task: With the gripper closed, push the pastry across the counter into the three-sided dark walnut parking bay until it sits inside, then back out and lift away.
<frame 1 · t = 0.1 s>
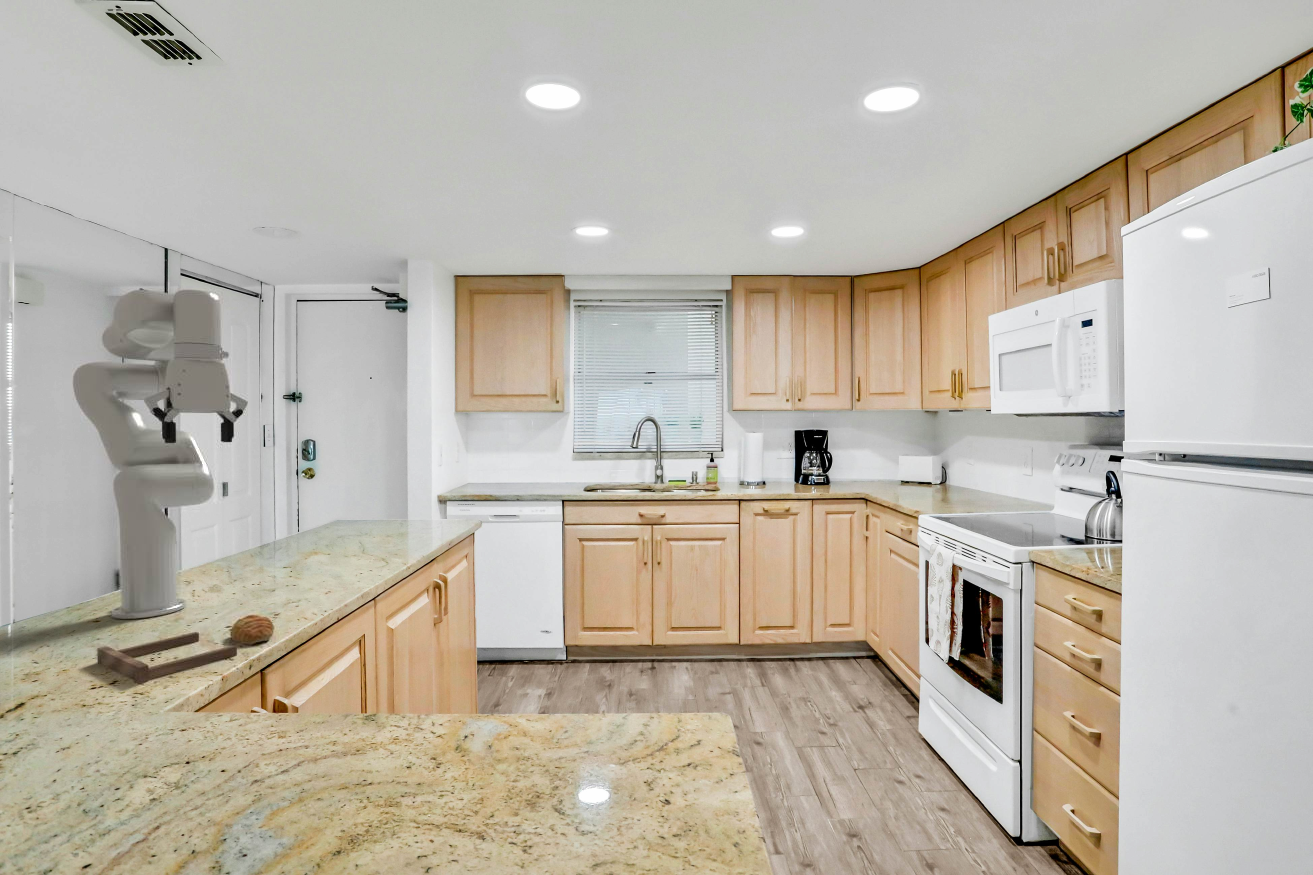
hand: (199, 442, 125), 37 cm above the table, tool pointing down, fingers open, 9 cm apart
pastry: (254, 639, 121), on the table
bay: (173, 658, 110), on the table
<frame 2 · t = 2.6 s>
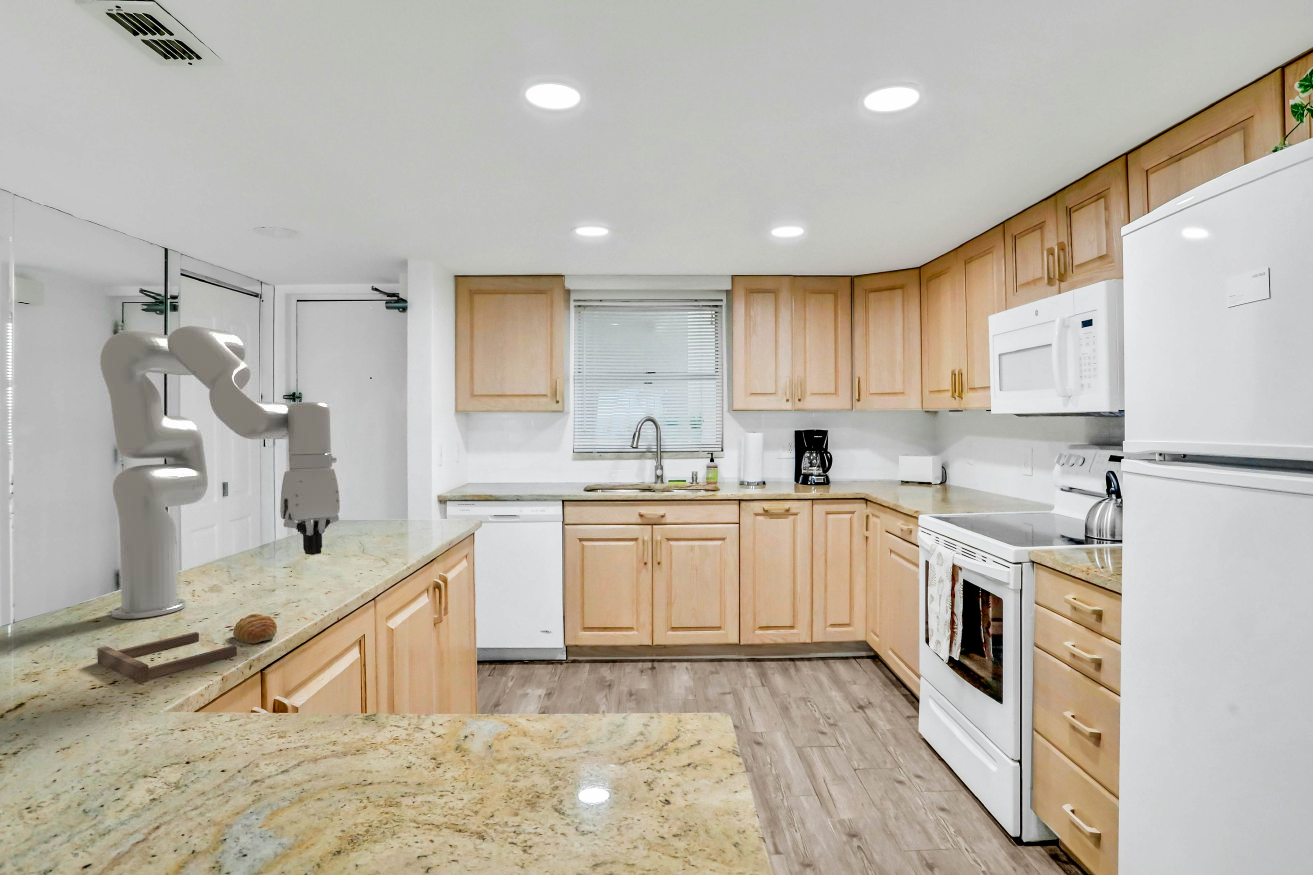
hand: (313, 553, 130), 14 cm above the table, tool pointing down, fingers closed
nothing on the table moved.
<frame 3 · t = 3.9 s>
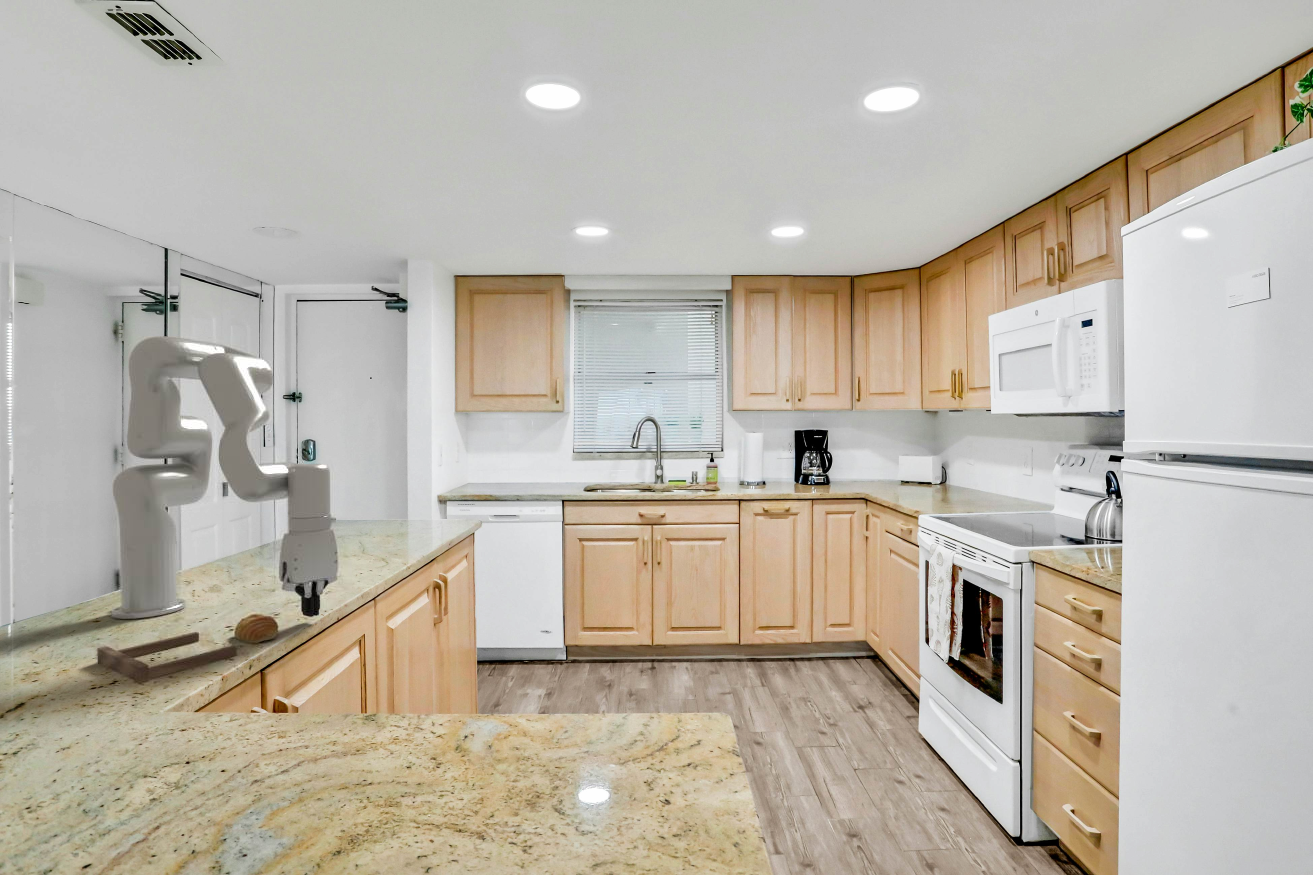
hand: (310, 614, 130), 2 cm above the table, tool pointing down, fingers closed
nothing on the table moved.
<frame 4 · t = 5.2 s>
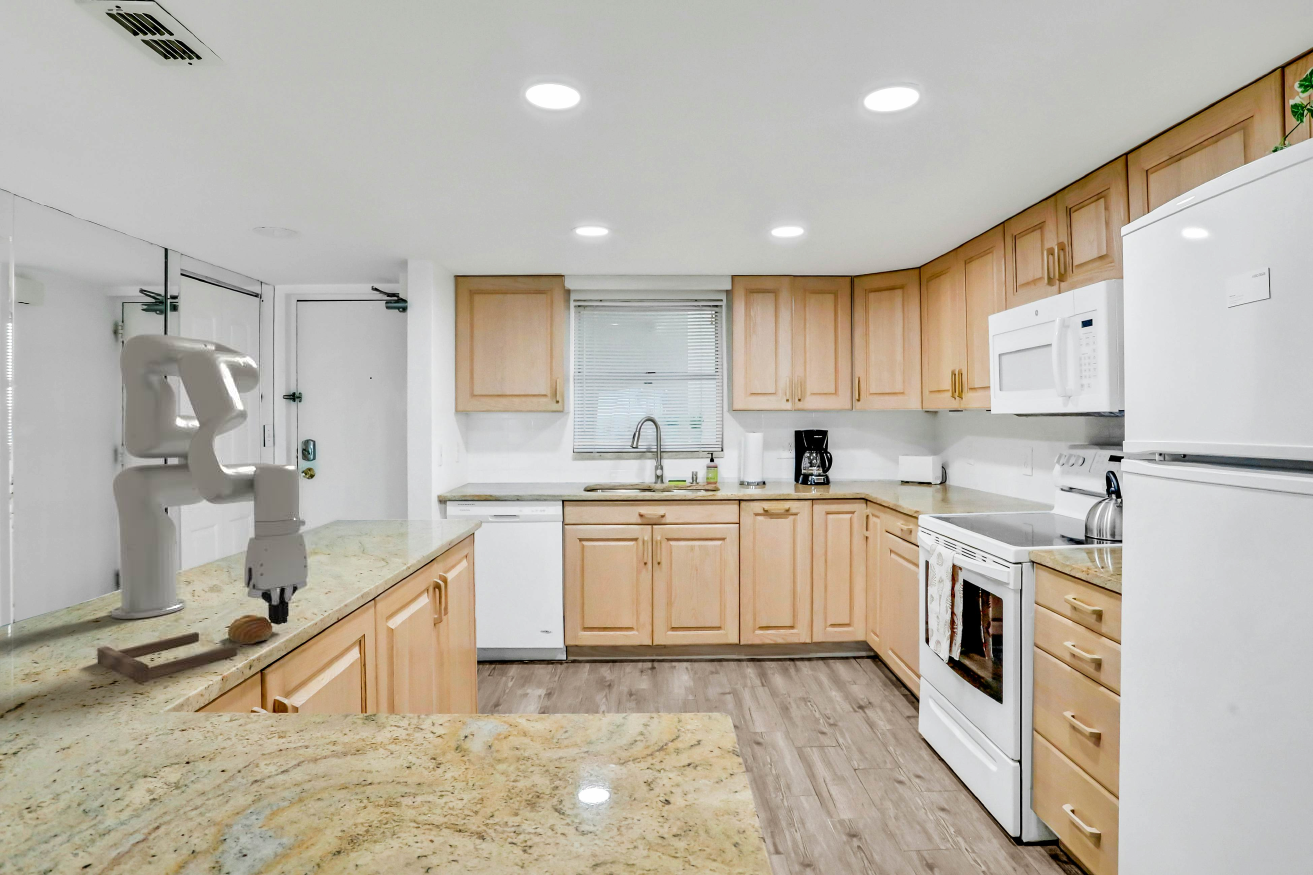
hand: (278, 622, 124), 2 cm above the table, tool pointing down, fingers closed
pastry: (252, 639, 121), on the table
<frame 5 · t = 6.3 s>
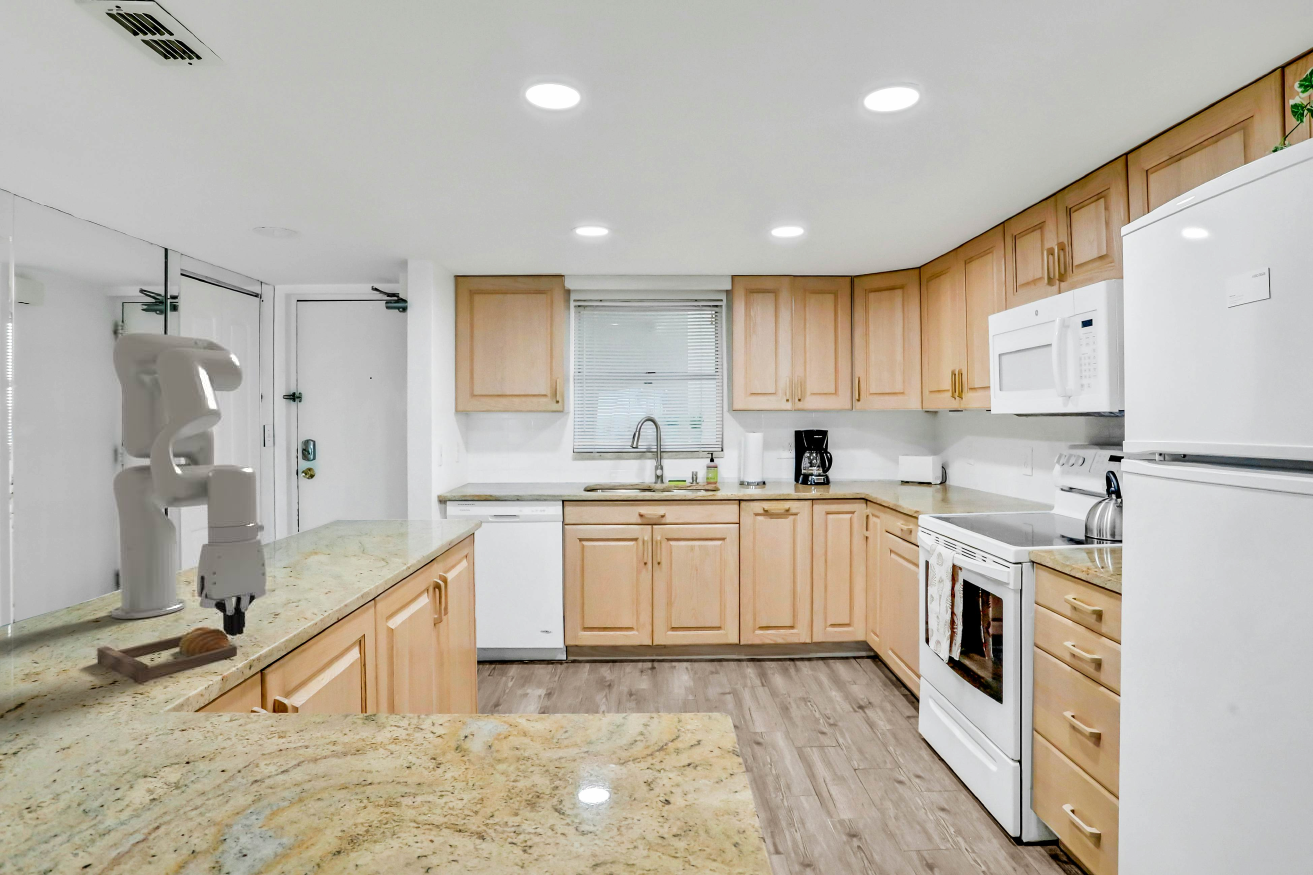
hand: (234, 633, 118), 2 cm above the table, tool pointing down, fingers closed
pastry: (207, 652, 114), on the table
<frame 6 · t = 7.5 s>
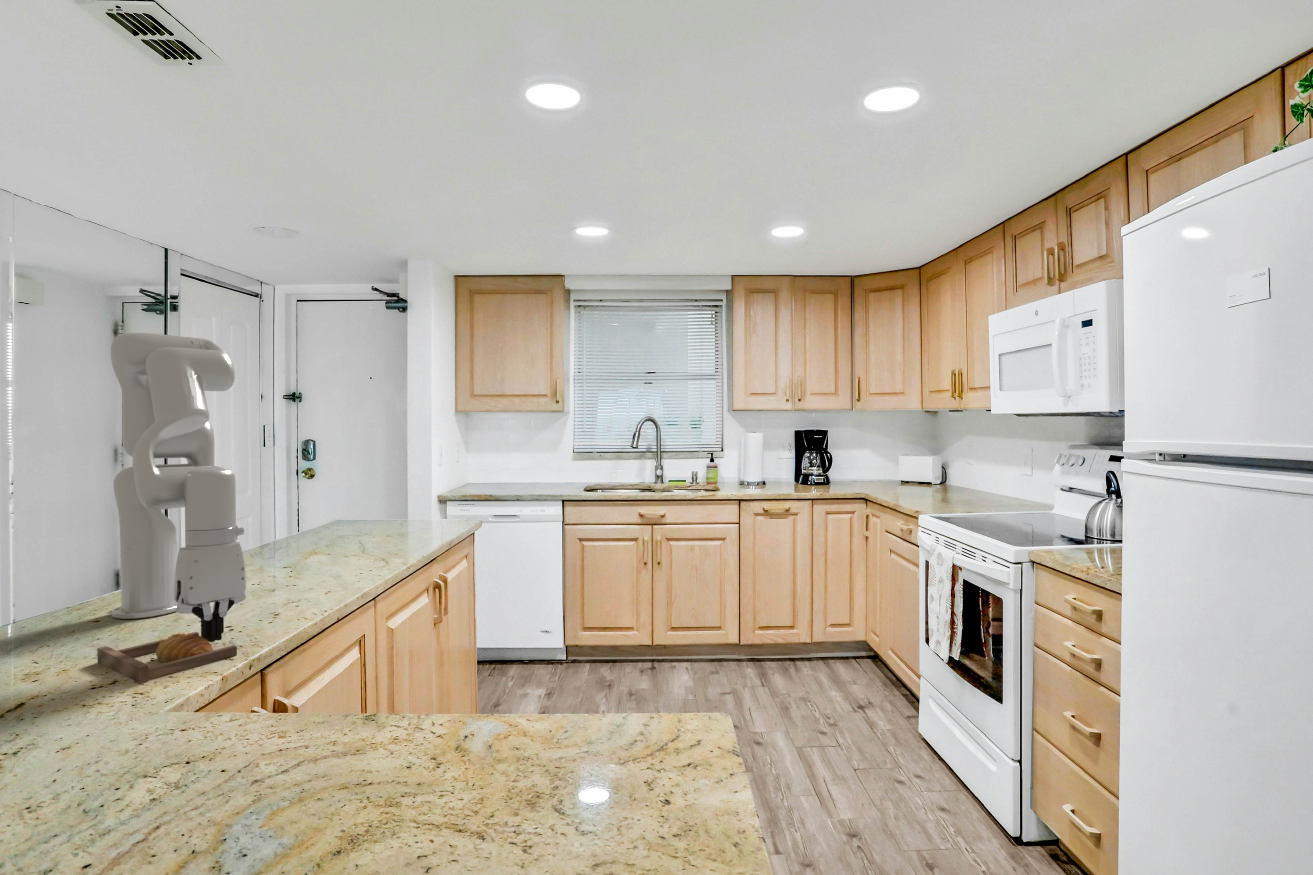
hand: (212, 639, 115), 2 cm above the table, tool pointing down, fingers closed
pastry: (186, 659, 111), on the table
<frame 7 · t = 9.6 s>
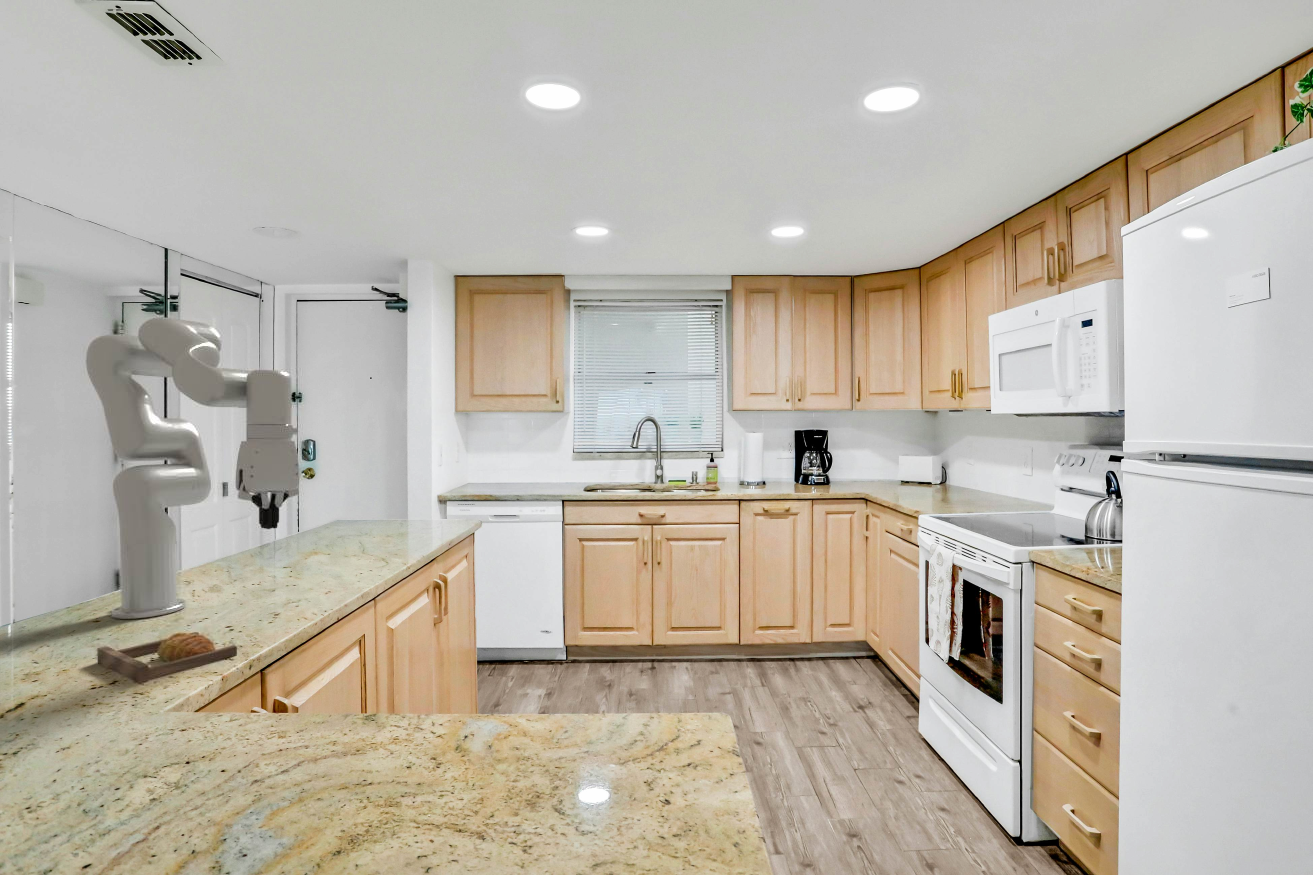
hand: (269, 527, 125), 20 cm above the table, tool pointing down, fingers closed
nothing on the table moved.
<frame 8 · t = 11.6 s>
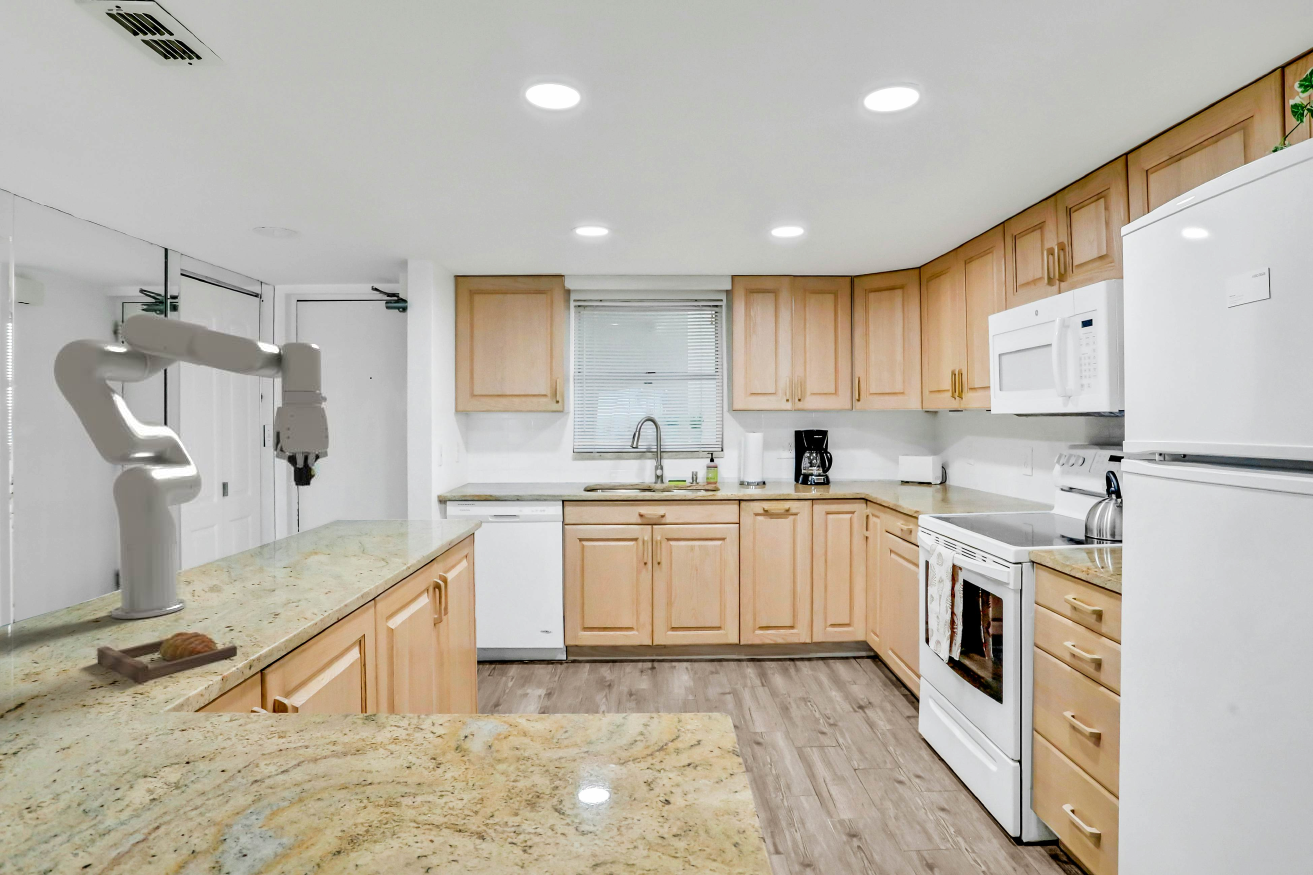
hand: (302, 485, 139), 27 cm above the table, tool pointing down, fingers closed
nothing on the table moved.
at the end: pastry inside the target area on the bay (3.9 cm from its centre), point -0.5 cm above the bay's base; pastry tilted 0°; pastry touching table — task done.
